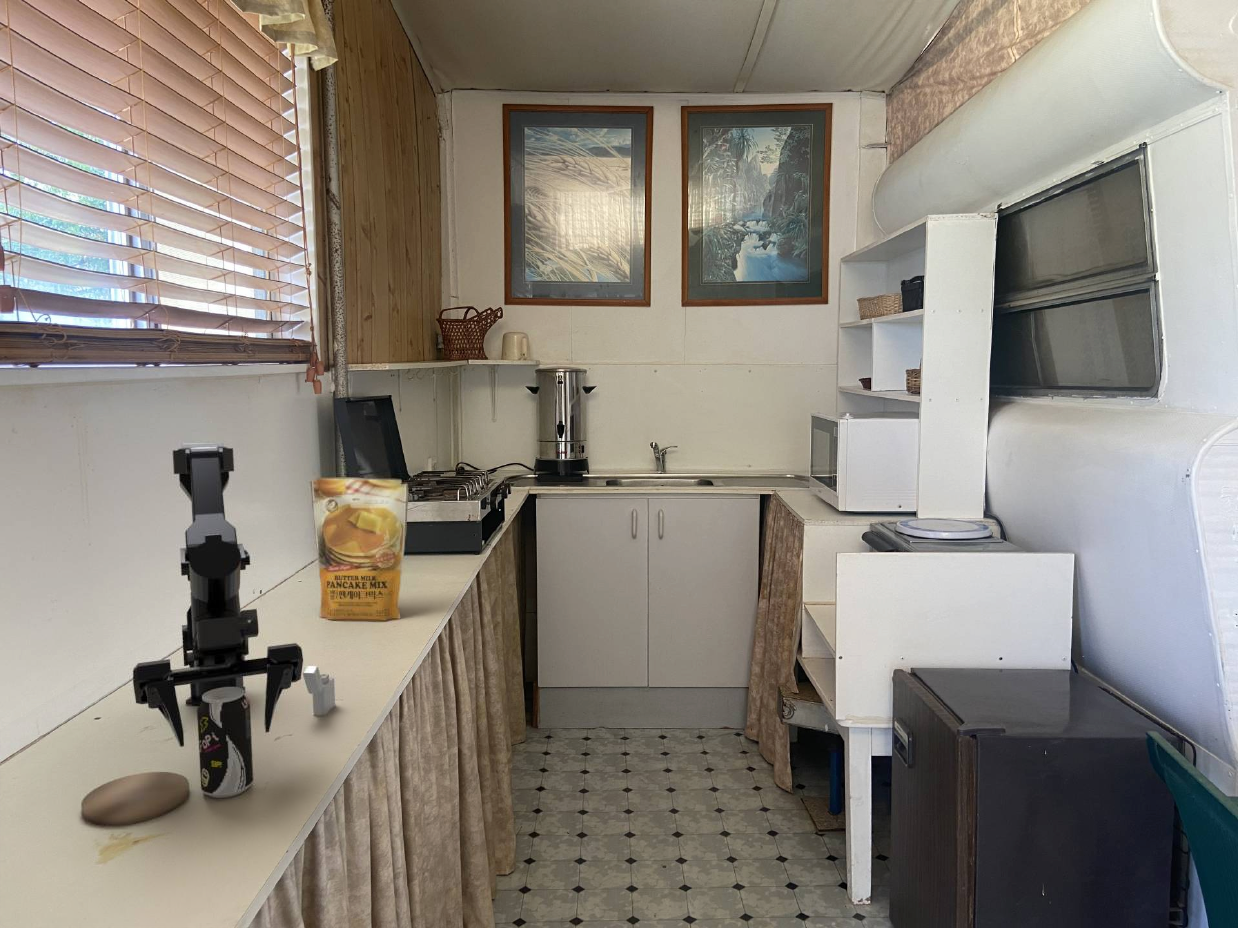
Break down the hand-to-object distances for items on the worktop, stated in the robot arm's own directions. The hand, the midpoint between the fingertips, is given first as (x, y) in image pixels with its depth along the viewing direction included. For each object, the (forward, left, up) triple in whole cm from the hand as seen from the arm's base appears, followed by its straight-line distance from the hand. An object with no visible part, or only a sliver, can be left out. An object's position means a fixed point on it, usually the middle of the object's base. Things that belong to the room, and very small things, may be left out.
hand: (225, 737), depth 106 cm
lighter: (+2, +25, -7) cm, 26 cm away
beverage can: (-1, +1, -7) cm, 7 cm away
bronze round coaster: (-10, -2, -7) cm, 12 cm away
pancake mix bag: (-7, +75, -7) cm, 75 cm away
